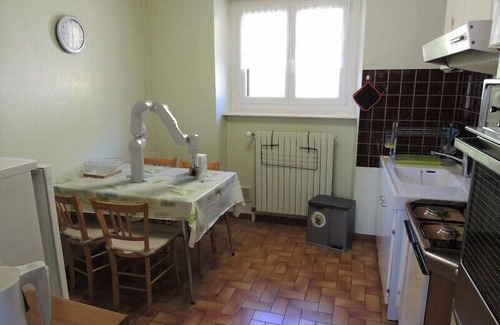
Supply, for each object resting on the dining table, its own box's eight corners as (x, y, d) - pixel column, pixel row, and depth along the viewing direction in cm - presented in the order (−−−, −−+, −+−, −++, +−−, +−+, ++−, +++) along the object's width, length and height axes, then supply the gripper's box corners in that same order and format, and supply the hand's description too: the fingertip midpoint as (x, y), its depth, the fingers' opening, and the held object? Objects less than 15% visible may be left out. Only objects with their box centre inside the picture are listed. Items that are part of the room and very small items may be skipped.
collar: (189, 176, 258) (189, 168, 257) (190, 174, 265) (190, 166, 263) (198, 176, 258) (198, 168, 257) (199, 174, 265) (199, 166, 264)
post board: (173, 182, 255) (172, 174, 253) (176, 176, 272) (176, 168, 271) (203, 182, 256) (203, 174, 255) (205, 176, 273) (204, 168, 272)
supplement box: (192, 173, 280) (191, 155, 277) (197, 171, 289) (197, 153, 285) (201, 174, 277) (201, 156, 274) (207, 172, 285) (206, 154, 282)
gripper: (197, 153, 249) (198, 177, 253) (199, 148, 266) (200, 171, 270) (187, 153, 249) (188, 177, 253) (189, 149, 266) (190, 171, 270)
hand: (194, 174), depth 261 cm, fingers closed on collar, 7 cm apart
